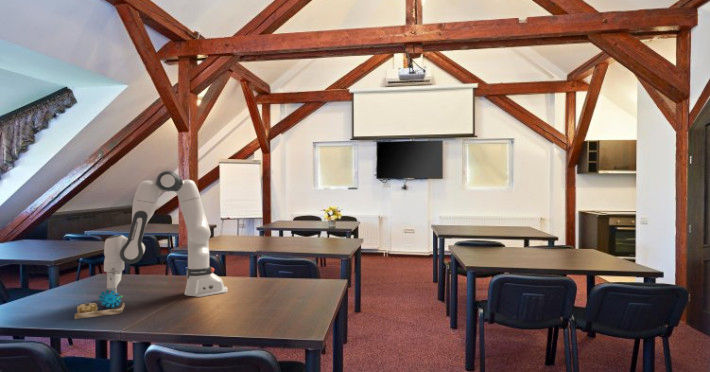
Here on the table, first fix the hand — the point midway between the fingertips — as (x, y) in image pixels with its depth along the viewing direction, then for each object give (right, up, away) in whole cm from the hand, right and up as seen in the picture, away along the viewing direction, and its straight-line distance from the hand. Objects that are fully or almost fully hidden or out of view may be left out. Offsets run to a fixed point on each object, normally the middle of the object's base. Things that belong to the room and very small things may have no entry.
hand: (114, 294), depth 191 cm
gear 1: (-1, -4, -18) cm, 18 cm away
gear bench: (+4, -4, -16) cm, 17 cm away
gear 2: (+3, -4, -7) cm, 9 cm away
